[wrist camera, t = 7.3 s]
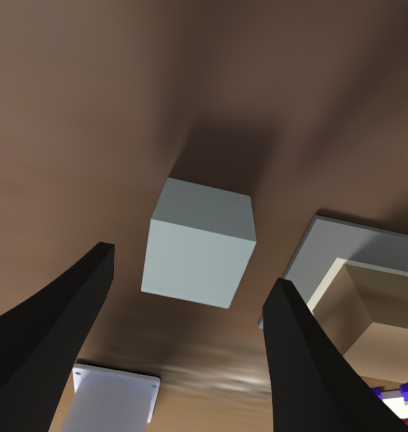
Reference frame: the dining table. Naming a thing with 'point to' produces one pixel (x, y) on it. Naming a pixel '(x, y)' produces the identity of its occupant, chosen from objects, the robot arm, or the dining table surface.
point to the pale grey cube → (198, 243)
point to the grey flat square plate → (342, 255)
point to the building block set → (396, 400)
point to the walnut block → (368, 321)
